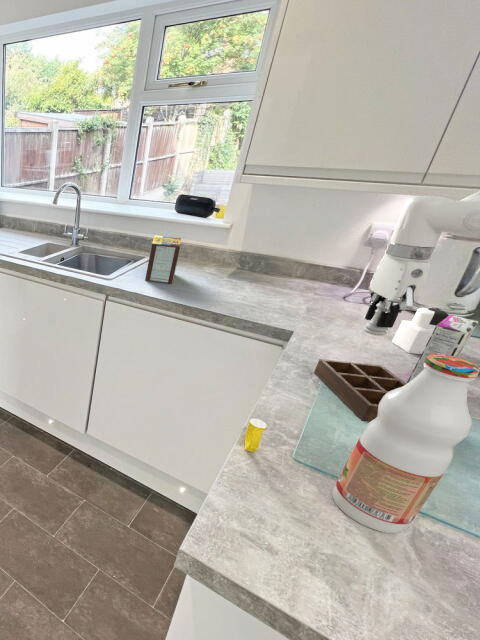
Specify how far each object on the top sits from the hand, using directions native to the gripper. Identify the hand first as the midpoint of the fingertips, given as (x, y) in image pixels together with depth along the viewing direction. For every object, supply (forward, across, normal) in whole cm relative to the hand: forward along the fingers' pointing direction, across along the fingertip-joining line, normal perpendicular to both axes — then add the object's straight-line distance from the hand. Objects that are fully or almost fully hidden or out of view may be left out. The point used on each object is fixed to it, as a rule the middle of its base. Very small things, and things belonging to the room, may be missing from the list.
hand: (378, 322), depth 103 cm
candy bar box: (+13, -6, -11) cm, 18 cm away
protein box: (+11, +65, +38) cm, 76 cm away
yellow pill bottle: (+12, -40, +40) cm, 58 cm away
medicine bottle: (+13, +15, -21) cm, 29 cm away
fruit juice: (+13, -52, +27) cm, 60 cm away
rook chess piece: (+3, 0, 0) cm, 3 cm away
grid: (+13, -16, +7) cm, 22 cm away
